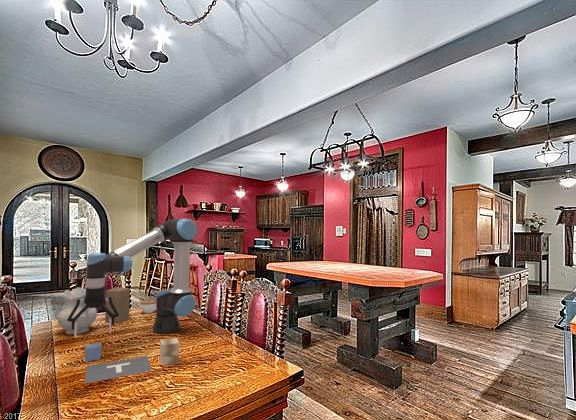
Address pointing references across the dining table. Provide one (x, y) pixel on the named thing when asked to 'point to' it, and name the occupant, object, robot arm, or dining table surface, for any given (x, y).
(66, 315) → the ceramic pitcher
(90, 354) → the blue cube
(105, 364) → the board
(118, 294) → the wooden block
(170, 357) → the maple block
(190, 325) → the dining table surface
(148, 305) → the lidded jar
